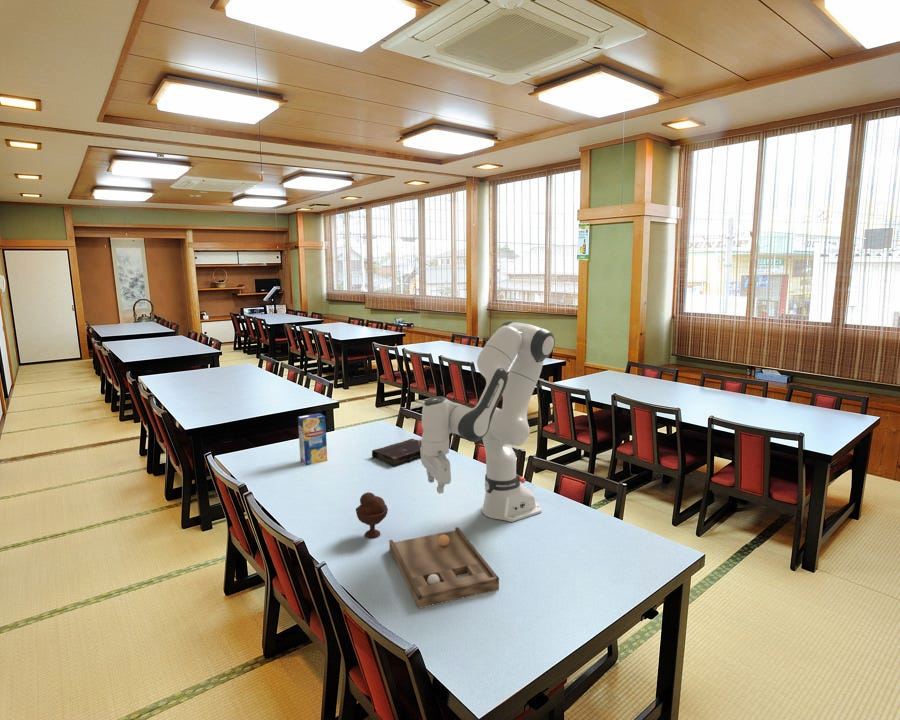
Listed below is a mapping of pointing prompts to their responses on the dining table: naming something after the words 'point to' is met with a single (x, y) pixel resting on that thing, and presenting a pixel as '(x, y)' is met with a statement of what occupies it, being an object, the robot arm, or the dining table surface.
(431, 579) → the ball grey
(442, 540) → the ball orange
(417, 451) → the diary
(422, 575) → the wooden tray
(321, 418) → the beverage box
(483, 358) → the robot arm
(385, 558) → the dining table surface
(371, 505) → the ice cream bowl
